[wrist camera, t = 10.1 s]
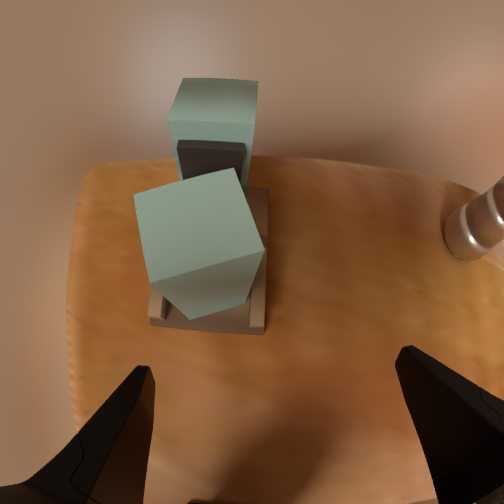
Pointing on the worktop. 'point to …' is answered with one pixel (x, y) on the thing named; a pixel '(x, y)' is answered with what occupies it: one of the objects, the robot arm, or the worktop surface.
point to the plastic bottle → (477, 225)
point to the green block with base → (212, 160)
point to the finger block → (199, 242)
